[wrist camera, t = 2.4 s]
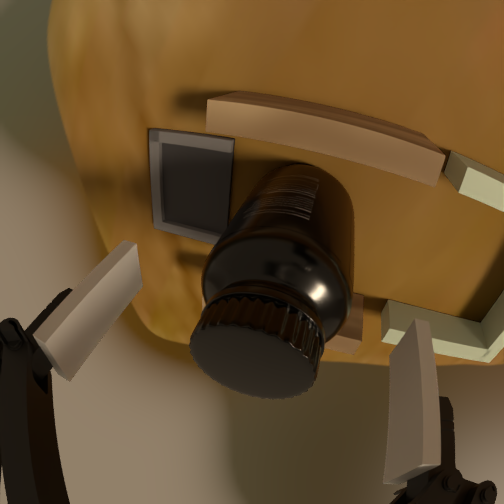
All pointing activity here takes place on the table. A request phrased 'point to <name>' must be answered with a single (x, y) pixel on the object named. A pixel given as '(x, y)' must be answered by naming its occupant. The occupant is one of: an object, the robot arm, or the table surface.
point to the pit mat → (190, 183)
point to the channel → (328, 152)
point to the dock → (446, 326)
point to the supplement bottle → (277, 285)
